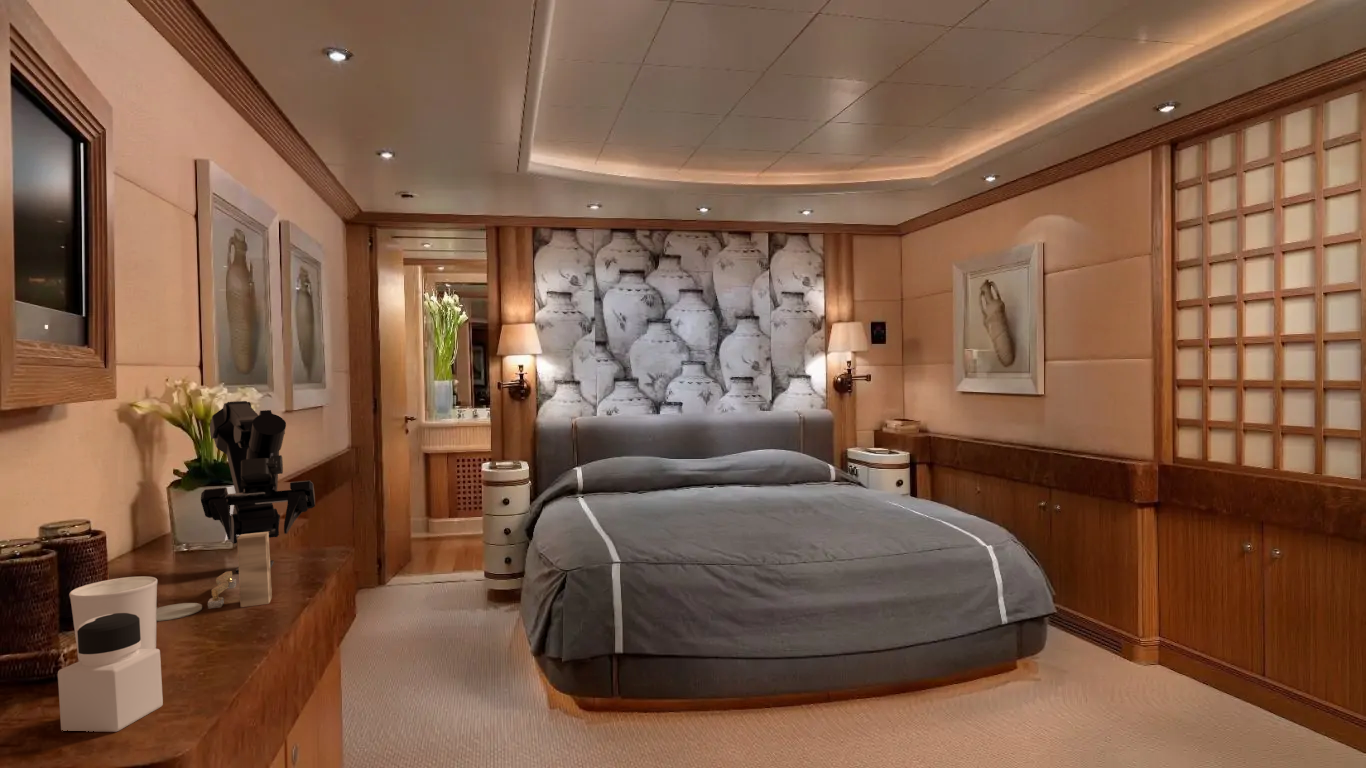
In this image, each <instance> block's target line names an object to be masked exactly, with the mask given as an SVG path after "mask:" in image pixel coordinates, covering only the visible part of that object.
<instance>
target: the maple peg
mask: <svg viewBox="0 0 1366 768" xmlns="http://www.w3.org/2000/svg"><path fill="white" fill-rule="evenodd" d="M269 532H270V531H268V532H260V533H250V534H241V535H238V536H239V537H238V538H237V543H236V544H237V567H238V566H239V572H238V579H239V580H238V581H239V600H240V608H246V607H254V606H255V607H256V606H260V605H261V606H262V605H269V604H270V603H271V600H272V598H273V595H272V594H273V592H272V591H273V590H272V577H271V576H272V572H271V568H270V561H271V557H270V556H271V555H270V538H269Z"/></svg>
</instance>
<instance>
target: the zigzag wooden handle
mask: <svg viewBox="0 0 1366 768" xmlns="http://www.w3.org/2000/svg"><path fill="white" fill-rule="evenodd" d="M215 583H216V586H215V587H213V588H212V589H211V596H212V597H211V598H209V599H208V601H207V609H209V610H210V609H216V608H218V609H219V608H222V606H223V605H224V597H223V596H220V597H219V595H220V594H222V593H223V592H225V590H227V589H229V590H230V589H235V587H236V586H237V578H233V571H232V570H230V571H225V572H224V573H222V574H220V575H219V576H217V577H216V578H215Z"/></svg>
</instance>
